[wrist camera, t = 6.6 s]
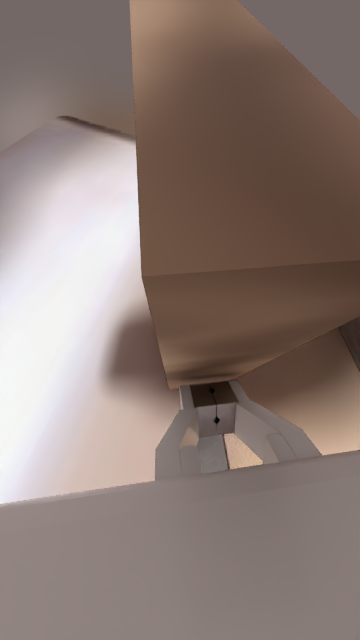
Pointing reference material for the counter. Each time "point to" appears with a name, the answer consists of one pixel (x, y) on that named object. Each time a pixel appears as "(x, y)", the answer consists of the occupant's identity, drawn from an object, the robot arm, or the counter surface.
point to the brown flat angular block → (239, 191)
